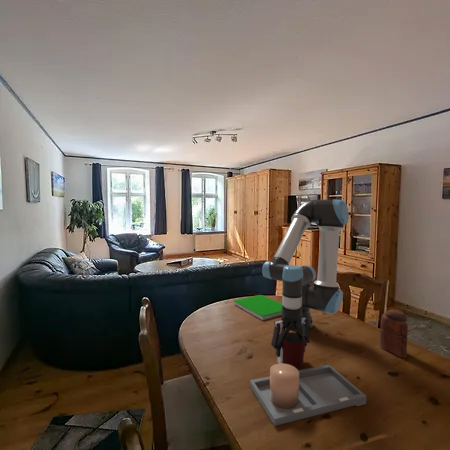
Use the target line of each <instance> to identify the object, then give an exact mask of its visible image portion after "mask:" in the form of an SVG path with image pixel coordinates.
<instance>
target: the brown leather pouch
mask: <svg viewBox="0 0 450 450" xmlns="http://www.w3.org/2000/svg"><path fill="white" fill-rule="evenodd" d="M407 321H408V319H407V316H406V314H405V313H404V312H402V310H399V309H389V310H387V311H386V312H384V313H383V314H382V315H381V320H380V333H379V334H380V335H379V337H380V338H379V339H380V340H379V341H380V342H379V343H380V344H379V347H380V348H382V350H384V351H386V352H389V353H390V354H393V355H395V356H398V357H399V358H402V359H405V358H406V357H407V351H408V332H409V330H408V323H407Z"/></svg>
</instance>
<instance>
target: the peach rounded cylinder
mask: <svg viewBox="0 0 450 450" xmlns="http://www.w3.org/2000/svg"><path fill="white" fill-rule="evenodd" d="M269 376H270V401H271V402H272V403H273V404H274V405H275V406H277V407H279V408H283V409H291V408H294V407H296V406H297V404H298V398H299V369H296V368H295V367H293V366H291V365H289V364H283V363H280V364H279V363H276V364H273V365H272V366H271V367H270V368H269Z"/></svg>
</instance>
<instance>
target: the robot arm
mask: <svg viewBox="0 0 450 450" xmlns="http://www.w3.org/2000/svg"><path fill="white" fill-rule="evenodd" d="M349 213H350V212H349V208H348V204H347V202H345V200H343V199H336V198H335V199H311V200H308V201H305V202H304V203H303V204H301V205H300V206H299V207H298V208H296V210H295V211H294V212H293V214H292V216H291V217H290V218H291V219H290V221H291V222H290V225H288V226H289V227H288V229H287V230H286V232H285V235H284V237H283V239H282V240H281V242H280V244H279V246H278V248H277V250H276V252H275V254H274V256H273V258H272V260H271V261H265V262H264V263H263V264H262V269H261V273H262V275H263V278H266V279H270V280H271V281H273V280H274V281H279V282H282V284H281V285H282V289H281V290H282V292H281V295H282V296H281V297H282V298H281V304H282V305H283V306H282V315H281V319H280V320H279V321H277V320H275V321H274V322H273V323H274V328H273V333H272V339H271V343H270V346H272V347H273V348H274V350H275V356H276V357H277V361H276V362H277V364H280V363H283V349H282V345H283V339H284V340H285V338H286V336H287V334H288V333H289V332H291V331H292V330H293V331H295V333H297V335H298V337H299V338H300V339H301V341H302V336H304V337H305V347H307V346H308V344H310V343H311V339H310V333H309V330H312V329H313V327H314V323H313V317H312V315H311V310H314V311H319V312H323V313H325V314H327V313H328V314H333V315H334V314H337V312H338V311H339V310H340V308H341V306H342V304H343V303H342V302H343V300H344V299H343V297H344V292H343V290H341V289H340V285H339V283H338V282H337V274H338V273H337V272H338V262H339V261H338V260H339V259H338V258H339V244H340V233H341V232H342V230H343V229H344V227H345V226H344V225H347V224H348V223H349V220H350V219H349V218H350V214H349ZM314 223H315V224H317V227H318V229H319V230H320V236H319V237H320V239H319V252H318V265H317V273H316V269H314V268H313V267H312V266H311V265H302V266H300V265H295V264H293V265H292V264H290V263H291V261H292V259H293V257H294V255H295V252H296V250H297V248H298V246H299V244H300V242H301V240H302V238H303V236H304V234H305V231H306V229H308V228H309V227H310V226H311V225H312V224H314ZM316 278H317V279H316ZM310 309H311V310H310ZM305 352H306V348H305V349H304V353H305Z"/></svg>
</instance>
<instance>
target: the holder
mask: <svg viewBox="0 0 450 450" xmlns="http://www.w3.org/2000/svg"><path fill="white" fill-rule="evenodd" d="M298 371H299V398H298V404H297V406H296V407H294V408H291V409H283V408H279V407H277V406H275V405H274V404H273V403H272V402H271V401H270V375H269V376H264V377H260V378H254V379H249V388H251V389H250V390H252V392H253V393H254V396H255V397H256V399H257V400H258V402H259V404H260V405H261V407H262V409H263V410H264V411H265V413H266V414H267V416H268V418H269V420H270V421H271V423H272V424H273V426H274V427H276V426H279V425H284V424H287V423H291V422H295V421H298V420H299V421H300V420H302V419H303V420H304V419H306V418H307V419H308V418H310V417H314V416H315V417H316V416H318V415H323V414H327V413H330V412H333V411H337V410H341V409H346V408H349V407H353V406H357V407H360V406H363V405H366V404H367V395H366V394H365V393H364V392H363V391H362V390H361V389H359V388H358V387H356V385H354V384H353V383H352V382H350V380H348V379H347V378H346V377H345V376H343V375H342V374H341V373H340V372H339V371H338V370H336V369H335V368H334V367H333V366H331V364H326V365H325V364H324V365H319V366H314V367H310V368H304V369H298Z"/></svg>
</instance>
